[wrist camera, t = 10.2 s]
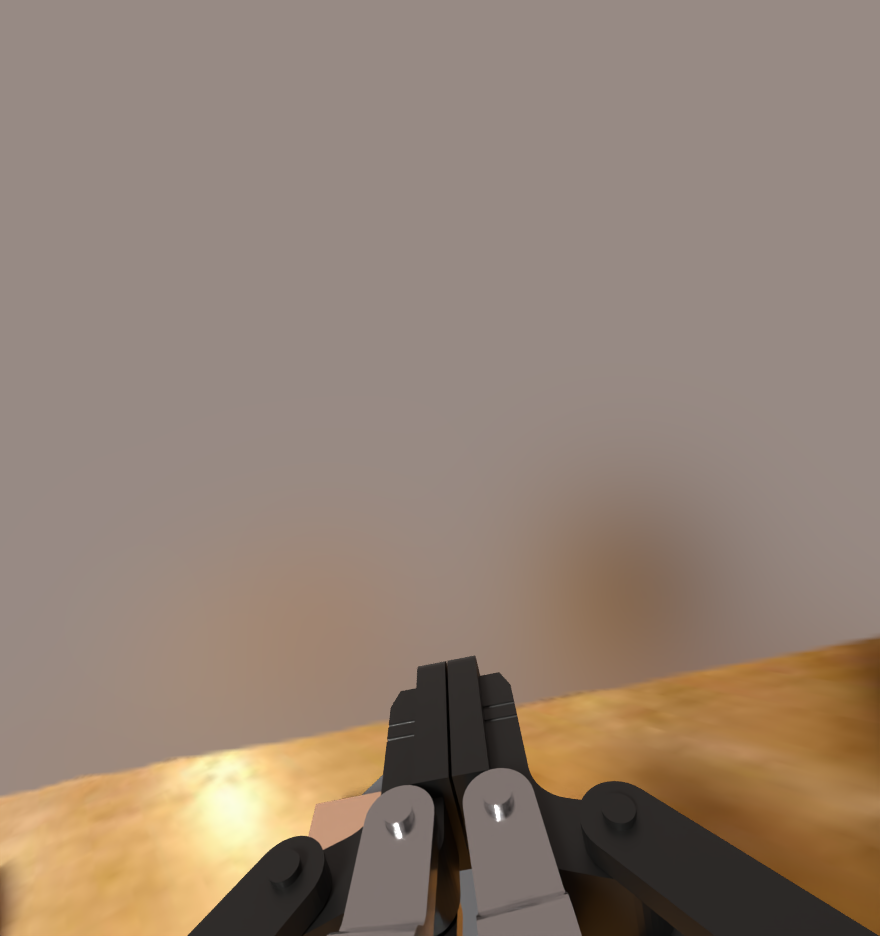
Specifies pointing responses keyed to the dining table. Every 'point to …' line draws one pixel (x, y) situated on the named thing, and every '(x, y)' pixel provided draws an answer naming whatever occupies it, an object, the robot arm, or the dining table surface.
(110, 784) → the dining table surface
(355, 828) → the tile
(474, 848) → the robot arm
